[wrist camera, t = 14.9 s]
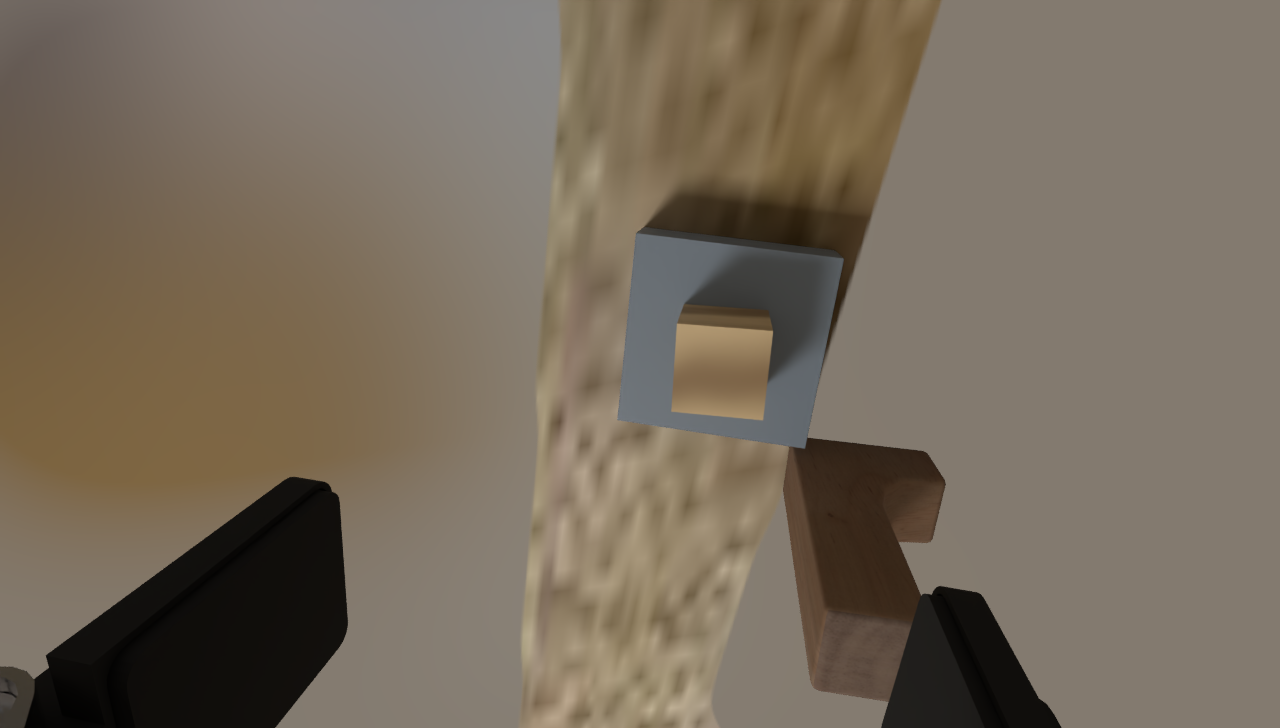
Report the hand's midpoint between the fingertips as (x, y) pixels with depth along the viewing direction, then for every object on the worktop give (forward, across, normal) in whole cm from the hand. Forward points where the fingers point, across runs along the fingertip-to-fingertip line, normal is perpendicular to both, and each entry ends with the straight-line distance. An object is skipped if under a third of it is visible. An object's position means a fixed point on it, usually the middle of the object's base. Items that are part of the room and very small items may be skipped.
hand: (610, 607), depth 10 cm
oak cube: (+29, -2, +4) cm, 30 cm away
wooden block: (+33, -12, +13) cm, 37 cm away
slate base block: (+33, -2, +4) cm, 34 cm away
